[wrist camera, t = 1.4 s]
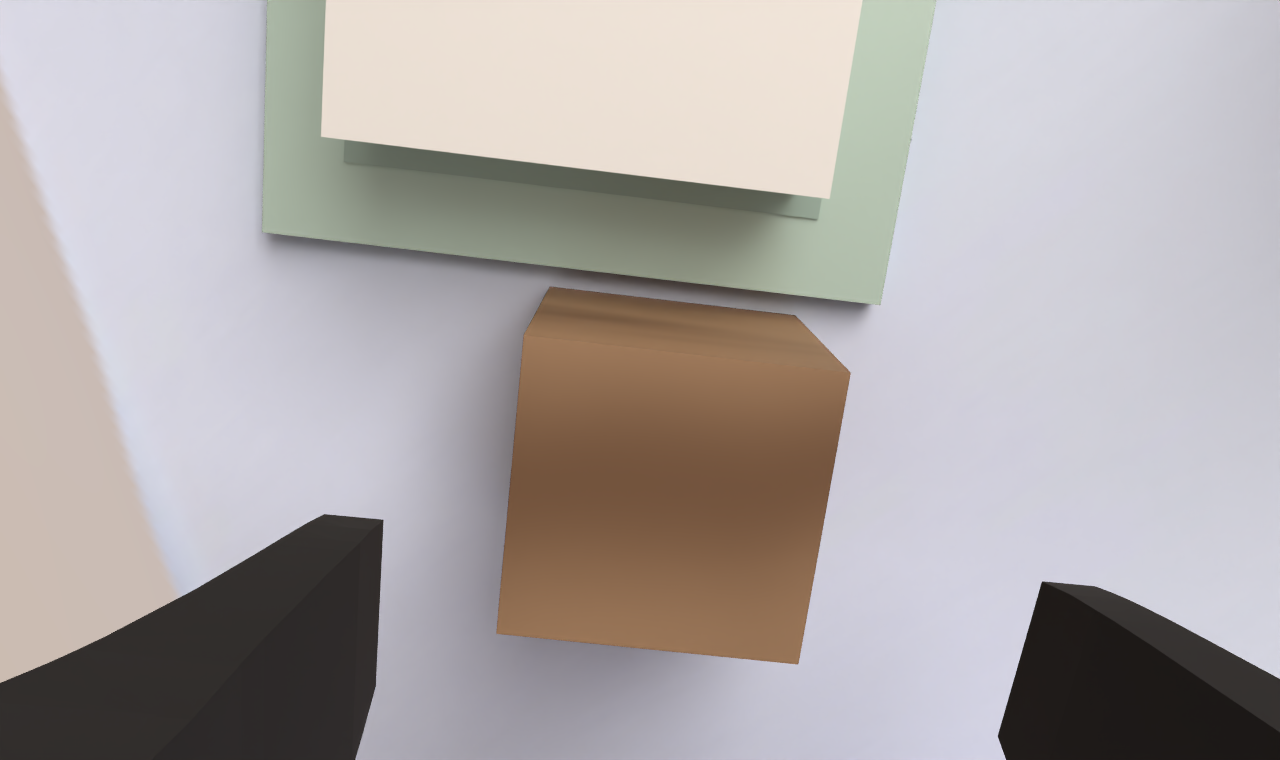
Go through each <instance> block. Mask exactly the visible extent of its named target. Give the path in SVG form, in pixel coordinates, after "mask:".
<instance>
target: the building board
mask: <svg viewBox="0 0 1280 760" xmlns="http://www.w3.org/2000/svg"><path fill="white" fill-rule="evenodd" d="M935 6H936V0H863V1H862V7H861V13H860V19H859V25H858V31H857V37H856V43H855V49H854V55H853V61H852V67H851V73H850V79H849V85H848V91H847V97H846V103H845V109H844V115H843V121H842V127H841V133H840V139H839V145H838V152H837V158H836V164H835V170H834V176H833V182H832V188H831V194H830V199H826V198H818V197H809V196H801V195H793V194H785V193H777V192H769V191H760V190H752V189H744V188H736V187H728V186H719V185H711V184H703V183H695V182H687V181H679V180H670V179H662V178H654V177H646V176H638V175H630V174H621V173H613V172H605V171H597V170H589V169H580V168H572V167H564V166H556V165H548V164H540V163H531V162H523V161H515V160H507V159H499V158H491V157H482V156H474V155H466V154H458V153H450V152H441V151H433V150H425V149H417V148H409V147H401V146H392V145H384V144H376V143H368V142H360V141H352V140H343V139H335V138H327V137H321V121H322V94H323V66H324V39H325V11H326V0H267V34H266V78H265V123H264V168H263V213H262V232H264V233H273V234H281V235H290V236H298V237H307V238H315V239H324V240H332V241H341V242H349V243H358V244H366V245H375V246H383V247H391V248H400V249H408V250H417V251H425V252H434V253H442V254H451V255H459V256H468V257H476V258H485V259H493V260H502V261H510V262H519V263H527V264H536V265H544V266H553V267H561V268H570V269H578V270H587V271H595V272H604V273H612V274H621V275H629V276H638V277H646V278H655V279H663V280H672V281H680V282H689V283H697V284H706V285H714V286H723V287H731V288H740V289H748V290H757V291H765V292H774V293H782V294H791V295H799V296H808V297H816V298H824V299H833V300H841V301H850V302H858V303H867V304H875V305H880V304H881V299H882V294H883V288H884V283H885V277H886V272H887V266H888V261H889V255H890V250H891V245H892V239H893V234H894V228H895V223H896V217H897V212H898V207H899V201H900V196H901V190H902V185H903V179H904V174H905V169H906V163H907V158H908V152H909V147H910V141H911V136H912V131H913V125H914V120H915V114H916V109H917V103H918V98H919V92H920V87H921V82H922V76H923V71H924V65H925V60H926V54H927V49H928V44H929V38H930V33H931V27H932V22H933V16H934V11H935Z"/></svg>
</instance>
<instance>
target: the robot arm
mask: <svg viewBox="0 0 1280 760" xmlns="http://www.w3.org/2000/svg"><path fill="white" fill-rule="evenodd" d="M382 538H383V520H379V519H369V518H358V517H347V516H337V515H326V514H324V515H322V516H320V517H318V518H316V519H314V520H312V521H310V522H308V523H307V524H305V525H303V526H301V527H300V528H298V529H296V530H295V531H293V532H291V533H290V534H288V535H286V536H285V537H283V538H281V539H280V540H278V541H276V542H275V543H273V544H271V545H270V546H268V547H266V548H265V549H263V550H261V551H260V552H258V553H256V554H255V555H253V556H251V557H250V558H248V559H246V560H245V561H243V562H241V563H239V564H238V565H236V566H234V567H233V568H231V569H229V570H228V571H226V572H224V573H222V574H221V575H219V576H217V577H216V578H214V579H212V580H211V581H209V582H207V583H205V584H204V585H202V586H200V587H199V588H197V589H195V590H193V591H191V592H190V593H188V594H186V595H184V596H182V597H180V598H178V599H176V600H174V601H172V602H170V603H169V604H167V605H165V606H163V607H161V608H159V609H157V610H155V611H153V612H151V613H149V614H148V615H146V616H144V617H142V618H140V619H138V620H136V621H134V622H132V623H130V624H129V625H127V626H125V627H123V628H121V629H119V630H117V631H115V632H113V633H111V634H110V635H108V636H106V637H104V638H102V639H99V640H97V641H95V642H93V643H91V644H89V645H87V646H85V647H83V648H80V649H79V650H76V651H74V652H72V653H70V654H67V655H65V656H63V657H61V658H58V659H56V660H54V661H52V662H50V663H47V664H45V665H42V666H40V667H38V668H35V669H33V670H31V671H28V672H26V673H23V674H21V675H19V676H16V677H14V678H11V679H9V680H7V681H4V682H2V683H0V760H355V758H356V755H357V751H358V748H359V744H360V741H361V738H362V734H363V731H364V727H365V723H366V720H367V716H368V712H369V709H370V705H371V701H372V698H373V694H374V690H375V687H376V667H377V646H378V624H379V603H380V581H381V560H382ZM998 738H999V741H1000V744H1001V746H1002V749H1003V752H1004V755H1005V758H1006V760H1280V679H1279V678H1277V677H1275V676H1273V675H1271V674H1269V673H1268V672H1266V671H1264V670H1262V669H1260V668H1258V667H1256V666H1255V665H1253V664H1251V663H1249V662H1247V661H1245V660H1243V659H1242V658H1240V657H1238V656H1236V655H1234V654H1232V653H1230V652H1229V651H1227V650H1225V649H1223V648H1221V647H1219V646H1217V645H1216V644H1214V643H1212V642H1210V641H1208V640H1206V639H1204V638H1202V637H1201V636H1199V635H1197V634H1195V633H1193V632H1191V631H1189V630H1187V629H1186V628H1184V627H1182V626H1180V625H1178V624H1176V623H1174V622H1172V621H1170V620H1168V619H1167V618H1165V617H1163V616H1161V615H1159V614H1157V613H1155V612H1153V611H1151V610H1149V609H1147V608H1145V607H1143V606H1140V605H1138V604H1136V603H1134V602H1132V601H1130V600H1128V599H1125V598H1123V597H1121V596H1118V595H1116V594H1114V593H1111V592H1109V591H1106V590H1103V589H1101V588H1098V587H1095V586H1085V585H1074V584H1064V583H1053V582H1042V584H1041V587H1040V591H1039V594H1038V598H1037V601H1036V605H1035V608H1034V612H1033V615H1032V619H1031V622H1030V626H1029V629H1028V633H1027V636H1026V640H1025V643H1024V647H1023V650H1022V654H1021V657H1020V661H1019V664H1018V668H1017V671H1016V675H1015V678H1014V682H1013V685H1012V689H1011V692H1010V696H1009V699H1008V703H1007V706H1006V710H1005V713H1004V716H1003V720H1002V723H1001V727H1000V730H999V734H998Z"/></svg>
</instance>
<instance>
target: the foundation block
mask: <svg viewBox="0 0 1280 760" xmlns="http://www.w3.org/2000/svg"><path fill="white" fill-rule="evenodd" d="M862 1H863V0H326V11H325V39H324V66H323V94H322V121H321V137H327V138H335V139H343V140H352V141H360V142H368V143H376V144H384V145H392V146H401V147H409V148H417V149H425V150H433V151H441V152H450V153H458V154H466V155H474V156H482V157H491V158H499V159H507V160H515V161H523V162H531V163H540V164H548V165H556V166H564V167H572V168H580V169H589V170H597V171H605V172H613V173H621V174H630V175H638V176H646V177H654V178H662V179H670V180H679V181H687V182H695V183H703V184H711V185H719V186H728V187H736V188H744V189H752V190H760V191H769V192H777V193H785V194H793V195H801V196H809V197H818V198H826V199H830V194H831V188H832V182H833V176H834V170H835V164H836V158H837V152H838V145H839V139H840V133H841V127H842V121H843V115H844V109H845V103H846V97H847V91H848V85H849V79H850V73H851V67H852V61H853V55H854V49H855V43H856V37H857V31H858V25H859V19H860V13H861V7H862Z"/></svg>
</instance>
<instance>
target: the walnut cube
mask: <svg viewBox="0 0 1280 760" xmlns="http://www.w3.org/2000/svg"><path fill="white" fill-rule="evenodd" d="M850 374H851V373H850V372H849V371H848V369H847V368H846V367H845V366H844V365H843V364H842V363H841V362H840V361H839V360H838V359H837V358H836V357H835V356H834V355H833V354H832V353H831V352H830V351H829V350H828V349H827V348H826V347H825V346H824V345H823V344H822V343H821V342H820V341H819V340H818V338H817V337H816V336H815V335H814V334H813V333H812V332H811V331H810V330H809V329H808V328H807V327H806V326H805V325H804V324H803V323H802V322H801V321H800V320H799V319H798V318H797V317H796V316H795V315H788V314H779V313H771V312H762V311H754V310H745V309H736V308H728V307H719V306H711V305H702V304H694V303H685V302H677V301H668V300H660V299H651V298H643V297H634V296H625V295H617V294H608V293H600V292H591V291H583V290H574V289H566V288H557V287H549V289H548V291H547V293H546V295H545V297H544V299H543V300H542V302H541V304H540V306H539V308H538V310H537V312H536V313H535V315H534V317H533V319H532V321H531V323H530V325H529V326H528V328H527V330H526V332H525V334H524V338H523V349H522V360H521V371H520V382H519V392H518V403H517V414H516V425H515V436H514V447H513V458H512V469H511V479H510V490H509V501H508V512H507V523H506V534H505V545H504V556H503V566H502V577H501V588H500V599H499V610H498V621H497V632H496V634H504V635H514V636H524V637H534V638H544V639H553V640H563V641H573V642H583V643H593V644H603V645H612V646H622V647H632V648H642V649H652V650H662V651H672V652H681V653H691V654H701V655H711V656H721V657H731V658H740V659H750V660H760V661H770V662H780V663H790V664H798V663H799V658H800V652H801V646H802V641H803V635H804V630H805V624H806V619H807V613H808V608H809V602H810V596H811V591H812V585H813V580H814V574H815V569H816V563H817V557H818V552H819V546H820V541H821V535H822V530H823V524H824V518H825V513H826V507H827V502H828V496H829V491H830V485H831V479H832V474H833V468H834V463H835V457H836V452H837V446H838V440H839V435H840V429H841V424H842V418H843V413H844V407H845V401H846V396H847V390H848V385H849V379H850Z"/></svg>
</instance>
